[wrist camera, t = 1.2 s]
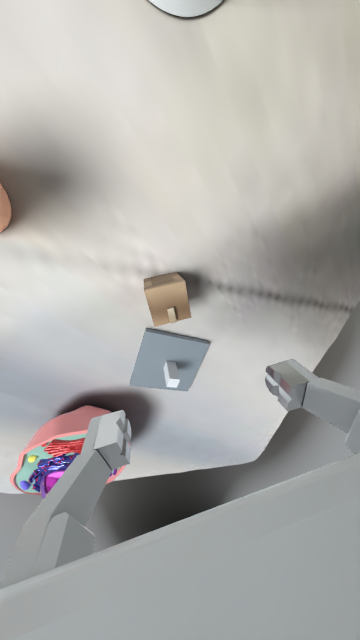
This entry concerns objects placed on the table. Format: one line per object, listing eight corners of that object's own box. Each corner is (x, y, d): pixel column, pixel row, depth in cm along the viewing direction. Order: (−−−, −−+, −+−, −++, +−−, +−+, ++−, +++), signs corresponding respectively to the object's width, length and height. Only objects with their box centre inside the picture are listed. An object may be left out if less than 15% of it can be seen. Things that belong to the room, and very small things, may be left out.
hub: (146, 328, 29) (146, 346, 24) (207, 340, 33) (219, 359, 28) (130, 380, 33) (128, 406, 28) (186, 386, 37) (193, 410, 32)
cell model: (151, 411, 38) (154, 473, 28) (87, 457, 41) (70, 528, 31) (88, 371, 31) (62, 437, 21) (14, 431, 33) (-41, 515, 23)
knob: (143, 279, 25) (144, 292, 19) (175, 271, 26) (186, 282, 20) (152, 309, 28) (154, 328, 22) (181, 301, 28) (192, 319, 22)
